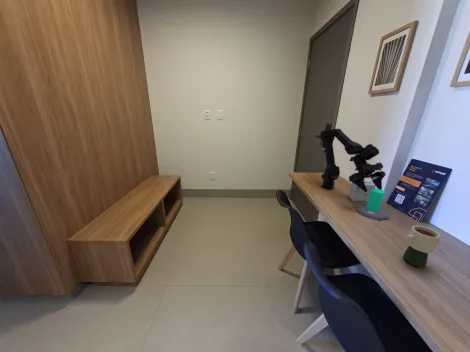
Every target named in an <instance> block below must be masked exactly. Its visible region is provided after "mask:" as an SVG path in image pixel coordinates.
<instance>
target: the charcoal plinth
mask: <svg viewBox="0 0 470 352" xmlns="http://www.w3.org/2000/svg"><path fill="white" fill-rule="evenodd" d="M366 206H367V202H365V203H363V202H362V203H359V204H357V205H356V212H357V213H358V214H360V215H362V216H363V217H366V218H369V219H372V220H377V221H385V220H387V219H388V218H389V215H390V212H389V211H388V210H387V209H386V208H384V207H382V206H381V207H380V211H379V212H373V211H370V210H368V209H366Z"/></svg>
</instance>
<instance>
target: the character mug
mask: <svg viewBox="0 0 470 352" xmlns="http://www.w3.org/2000/svg"><path fill="white" fill-rule="evenodd" d="M440 240H441V235H440V234H439V232H437V231H435V230H434V229H432V228H429V227H426V226H424V225H413V226H412V227H411V228H410V230H409V233H408V234H407V235H406V236H405V239H404V242H405V244H407V245H408V247H407V248H406V250H405V252H404V253H403V255H402V258H403V259H404V260H405V261H406V262H407V263H409V264H411V265H413V266H415V267H418V268H425V267H426V266H427V262H428V257H429V254H431V253H433V252H434V251H435V249H436V247H437V245H438V244H439V242H440Z"/></svg>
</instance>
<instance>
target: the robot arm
mask: <svg viewBox="0 0 470 352" xmlns="http://www.w3.org/2000/svg"><path fill="white" fill-rule="evenodd" d="M319 135H320V136H319V137H320V141H321V142H322V144H323V145H324V153H325V160H326V167H325V168H324V173H322V174H321V180H322V179H323V180H322V185H321V186H320V187H321V188H322V189H325V190H328V191H329V190H334V189H335V184H336V182H335V181H337V180H338V178H339V176H340V174H341V171H340V166H338V165H336V159H335V152H334V146H333V145H334V144H333V142H334V140H335V139H337V140H338V142H339V143H341V145H342V146H343V147H344V151H345V152H346V154H347V155H349V156H350V158H349V162H353V164H354V165H355V168H354V170H355V171H357V172H354V173H352V174H351V175H349V176H348V180H349V182H350V183H354V184H356V185H357V186H358V187H360V188H361V189H362V190H363V191H365V192H367V188H366V185H365V183H364V181H365V179H367V178H368V179H370V180H371V182H372V183H373V184H375V188H376V189H378V188H379V189H380V190H383V185H382V184H383V179H384V178H385V177H386V175H387V174H386V172H385V171H383V170H382V169H383V168H384V165H383V164H382V162H376V163H375V164H371V163H368V161H371V160H372V159H374V158H375V157H376V156H379V154H380V150H379V149H378V148H377V146H374V145H373V144H372V143H370V144H367V145H365V147H363V146H362V144H360V143H358V142H356V141H353V140H352V139H350V137H349V136H348V135H346V133H344V132H343V131H342V129H341V128H333V129H329V130H322V131H321V132H320V133H319Z"/></svg>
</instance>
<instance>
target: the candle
mask: <svg viewBox="0 0 470 352" xmlns="http://www.w3.org/2000/svg"><path fill="white" fill-rule="evenodd" d="M384 197H385V190H383V189H382V190H380V189H379V188H375V189H371V190H370V194H369V198H368V202H366V203H367V206H366V209H368V210H370V211H373V212H379V211H380V207H382V204H383V200H384Z"/></svg>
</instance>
